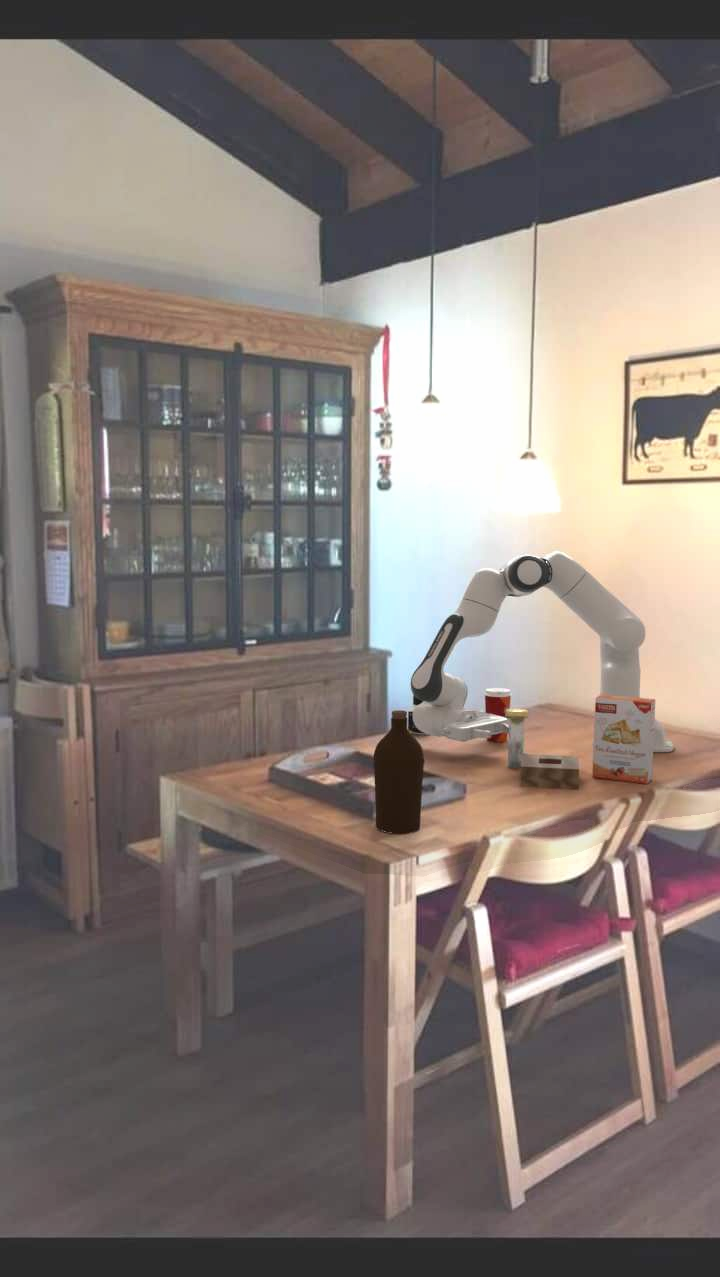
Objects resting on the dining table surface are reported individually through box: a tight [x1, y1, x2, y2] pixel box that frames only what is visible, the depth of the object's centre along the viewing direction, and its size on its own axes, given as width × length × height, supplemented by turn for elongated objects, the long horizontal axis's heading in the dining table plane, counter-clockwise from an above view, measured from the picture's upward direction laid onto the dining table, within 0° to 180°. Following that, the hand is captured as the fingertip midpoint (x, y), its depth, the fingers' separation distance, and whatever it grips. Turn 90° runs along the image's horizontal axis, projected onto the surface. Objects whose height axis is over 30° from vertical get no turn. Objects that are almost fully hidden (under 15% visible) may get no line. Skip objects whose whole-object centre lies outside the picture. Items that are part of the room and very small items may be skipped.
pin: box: [505, 708, 530, 770], centre depth 274 cm, size 6×6×15 cm
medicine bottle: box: [407, 694, 431, 736], centre depth 318 cm, size 7×7×12 cm
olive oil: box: [373, 709, 425, 834], centre depth 219 cm, size 11×11×25 cm
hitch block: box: [519, 753, 580, 790], centre depth 260 cm, size 14×14×5 cm
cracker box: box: [591, 694, 656, 785], centre depth 262 cm, size 14×6×21 cm, turn 63°
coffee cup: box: [483, 687, 513, 743], centre depth 308 cm, size 8×8×15 cm
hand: (500, 732), depth 278 cm, fingers open, 8 cm apart
